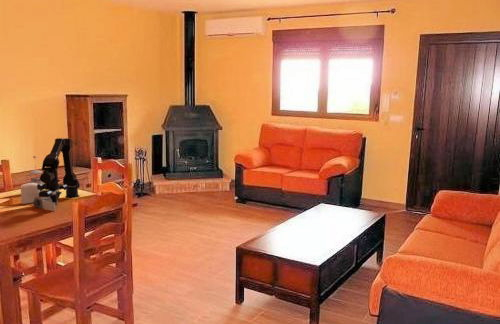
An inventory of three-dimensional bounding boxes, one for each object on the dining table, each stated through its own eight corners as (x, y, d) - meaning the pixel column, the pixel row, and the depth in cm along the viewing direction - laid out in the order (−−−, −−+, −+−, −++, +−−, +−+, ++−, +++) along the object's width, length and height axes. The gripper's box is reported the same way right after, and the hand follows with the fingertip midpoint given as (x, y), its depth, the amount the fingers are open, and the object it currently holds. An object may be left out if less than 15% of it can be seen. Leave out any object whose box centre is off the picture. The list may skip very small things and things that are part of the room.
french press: (41, 194, 286) (38, 157, 282) (23, 194, 286) (20, 157, 282) (48, 190, 296) (45, 154, 291) (31, 190, 296) (28, 154, 292)
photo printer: (39, 200, 271) (38, 181, 268) (40, 202, 267) (39, 182, 265) (21, 203, 265) (19, 183, 263) (22, 204, 262) (20, 184, 259)
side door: (56, 210, 250) (55, 202, 249) (53, 211, 248) (53, 202, 247) (43, 208, 254) (43, 199, 253) (41, 209, 253) (40, 200, 252)
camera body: (49, 202, 266) (49, 193, 265) (58, 204, 262) (57, 195, 261) (32, 207, 256) (31, 197, 255) (40, 209, 252) (39, 199, 251)
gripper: (50, 174, 258) (52, 199, 261) (29, 181, 240) (31, 208, 243) (67, 175, 256) (69, 200, 259) (46, 183, 238) (49, 209, 241)
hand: (54, 204), depth 251 cm, fingers closed
